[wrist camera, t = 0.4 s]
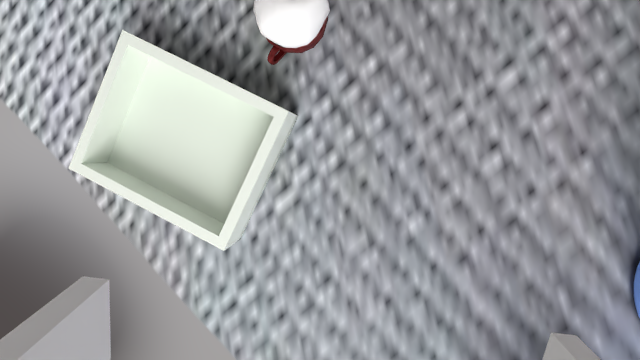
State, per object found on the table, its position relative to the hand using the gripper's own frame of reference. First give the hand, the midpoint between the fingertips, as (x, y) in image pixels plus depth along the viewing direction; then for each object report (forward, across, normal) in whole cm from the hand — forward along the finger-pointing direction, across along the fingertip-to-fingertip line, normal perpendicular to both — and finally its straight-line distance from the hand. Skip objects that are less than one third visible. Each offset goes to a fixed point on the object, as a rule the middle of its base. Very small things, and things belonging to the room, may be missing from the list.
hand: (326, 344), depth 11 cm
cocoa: (+29, -4, +13) cm, 32 cm away
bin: (+28, -14, 0) cm, 31 cm away
